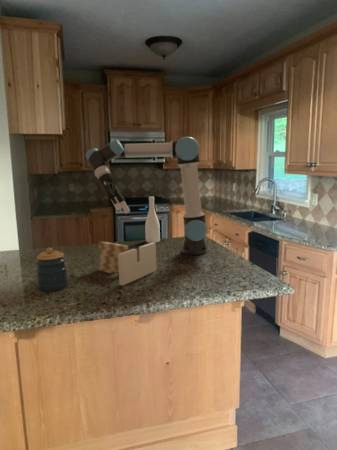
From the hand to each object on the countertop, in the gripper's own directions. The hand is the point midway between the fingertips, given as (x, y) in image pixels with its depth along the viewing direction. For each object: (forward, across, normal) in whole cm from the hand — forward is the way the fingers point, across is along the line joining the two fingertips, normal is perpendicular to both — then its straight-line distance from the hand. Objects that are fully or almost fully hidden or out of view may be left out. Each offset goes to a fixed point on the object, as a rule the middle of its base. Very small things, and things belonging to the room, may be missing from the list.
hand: (123, 210), depth 175 cm
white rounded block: (+14, -56, -6) cm, 58 cm away
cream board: (+34, +12, -6) cm, 36 cm away
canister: (+20, +28, -38) cm, 51 cm away
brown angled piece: (+25, +5, -18) cm, 31 cm away
